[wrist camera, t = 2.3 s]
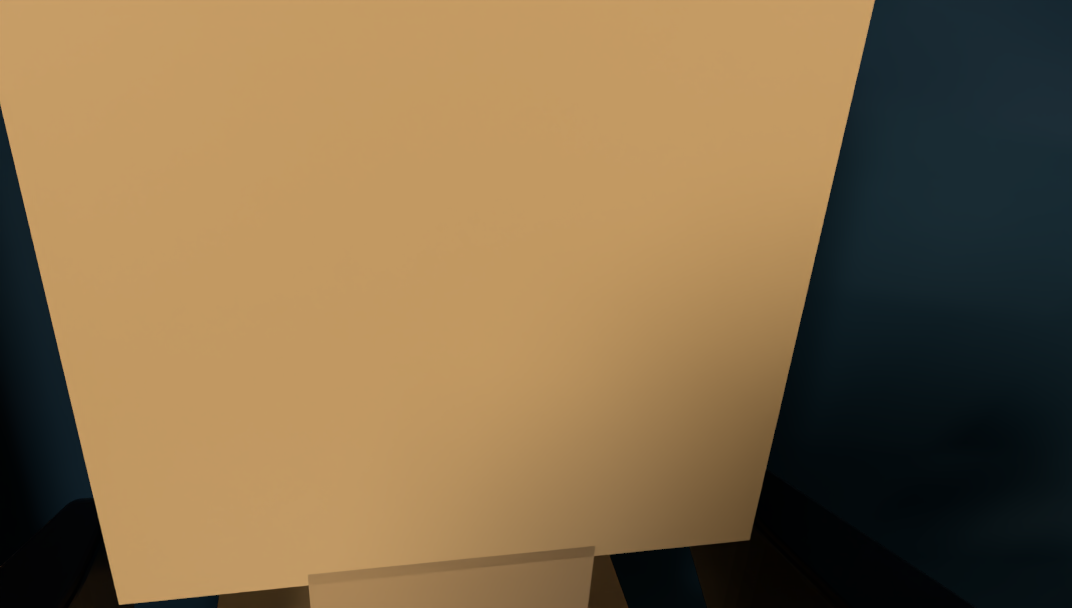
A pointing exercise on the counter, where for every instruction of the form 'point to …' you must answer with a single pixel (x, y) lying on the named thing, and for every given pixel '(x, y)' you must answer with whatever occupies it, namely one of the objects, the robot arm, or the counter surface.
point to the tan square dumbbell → (423, 280)
